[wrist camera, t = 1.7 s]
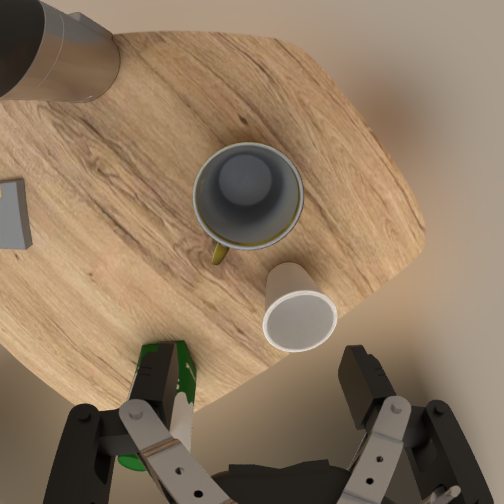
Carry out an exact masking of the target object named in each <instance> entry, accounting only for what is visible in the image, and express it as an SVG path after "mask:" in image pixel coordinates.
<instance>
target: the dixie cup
mask: <svg viewBox="0 0 504 504" xmlns="http://www.w3.org/2000/svg"><path fill="white" fill-rule="evenodd" d="M336 323H337V310H336V307H335V305H334V303H333V302H332V301H331V299H330V298H328V297H327V296H326V295H324V293H323V292H322V291H321V290H320V288H319V287H318V286H317V285H316V283H315V282H314V281H313V280H312V278H311V277H310V276H309V274H308V273H307V272H306V271H305V270H304V268H303V267H301V266H300V265H298V264H296V263H291V262H286V263H282V264H279V265H277V266H276V267H274V268H273V269H272V270H271V271H270V273H269V274H268V277H267V284H266V303H265V315H264V318H263V322H262V328H263V333H264V335H265V337H266V339H267V340H268V342H269V343H270V344H272V345H273V346H274V347H276V348H278V349H280V350H283V351H288V352H302V351H306V350H310V349H312V348H314V347H317V346H318V345H320V344H321V343H323V342H324V341H325V340H326V339H327V338H328V337H329V336H330V335H331V334H332V332H333V330H334V328H335V325H336Z"/></svg>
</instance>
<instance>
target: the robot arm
mask: <svg viewBox="0 0 504 504" xmlns="http://www.w3.org/2000/svg"><path fill="white" fill-rule="evenodd" d="M119 66H120V56H119V51H118V49H117V47H116V45H115V44H114V43H113V41H112V33H111V32H109V31H108V30H106V29H105V28H103V27H102V26H100V25H99V24H97V23H96V22H94V21H93V20H91V19H90V18H88V17H86V16H85V15H83V14H82V13H79V12H76V13H72V14H68V15H67V14H65V13H63V12H61V11H59V10H57V9H55V8H53V7H51V6H49V5H47V4H46V3H44V2H42V1H40V0H0V100H38V101H59V102H70V103H86V102H90V101H92V100H95V99H97V98H98V97H100V96H101V95H103V94H104V93H105V92H106V91H107V90H108V89H109V88H110V86H111V85H112V83H113V82H114V80H115V78H116V76H117V74H118V70H119ZM178 376H179V365H178V355H177V345H176V343H173V342H161V341H160V343H159V346H158V349H157V352H151V351H148V352H147V353H146V355H145V356H144V357H143V358H142V360H141V363H140V366H139V369H138V372H137V375H136V378H135V381H134V384H133V388H132V391H131V394H130V398H129V400H128V401H126V402H125V403H123V404H122V405H121V407H120V408H118V409H115V410H107V411H98V409H97V408H96V407H95V406H93V405H91V404H79V405H77V406H75V407H73V408H72V409H71V411H70V413H69V415H68V418H67V421H66V424H65V427H64V430H63V433H62V436H61V439H60V442H59V446H58V449H57V452H56V456H55V459H54V463H53V466H52V469H51V473H50V477H49V481H48V485H47V489H46V493H45V497H44V501H43V504H108V501H109V493H110V487H111V480H112V474H113V468H114V462H115V456H116V455H126V454H136V455H137V457H138V458H139V460H140V462H141V463H142V465H143V466H144V468H145V469H146V471H147V472H148V474H149V475H150V477H151V478H152V479H153V481H154V483H155V484H156V486H157V488H158V489H159V491H160V492H161V493H162V495H163V496H164V498H165V499H166V501H167V502H168V503H169V504H396V503H395V502H393V501H392V500H390V499H389V498H387V497H386V496H384V494H385V492H386V489H387V487H388V485H389V482H390V480H391V477H392V475H393V472H394V469H395V467H396V465H397V462H398V459H399V456H400V453H401V451H402V448H403V447H404V448H405V451H406V453H407V456H408V459H409V462H410V465H411V468H412V471H413V474H414V477H415V480H416V483H417V486H418V489H419V492H420V495H421V498H422V502H421V503H420V504H494V501H493V498H492V496H491V493H490V491H489V488H488V486H487V483H486V481H485V479H484V476H483V474H482V472H481V470H480V467H479V465H478V463H477V461H476V459H475V456H474V454H473V452H472V450H471V448H470V446H469V444H468V442H467V440H466V438H465V436H464V434H463V432H462V430H461V428H460V426H459V424H458V422H457V420H456V418H455V416H454V414H453V412H452V411H451V409H450V407H449V406H448V404H446V403H445V402H443V401H441V400H432V401H430V402H429V403H428V404H427V406H426V407H416V406H411V405H410V404H409V402H408V401H407V400H406V399H404V398H402V397H399V396H397V395H396V393H395V391H394V389H393V387H392V385H391V383H390V381H389V379H388V378H387V376H386V374H385V372H384V370H383V369H382V366H381V364H380V363H379V361H378V360H377V359H376V358H375V357H374V356H373V355H372V354H367V353H366V351H365V349H364V347H363V346H362V345H348V346H346V348H345V350H344V354H343V357H342V360H341V363H340V366H339V370H338V378H339V381H340V384H341V387H342V390H343V392H344V395H345V397H346V401H347V403H348V406H349V409H350V412H351V415H352V418H353V420H354V423H355V426H356V429H357V430H361V429H365V430H366V432H367V433H366V435H365V437H364V438H363V441H362V442H361V444H360V447H359V449H358V451H357V453H356V455H355V457H354V458H353V461H352V462H351V464H350V466H349V467H348V469H347V470H345V469H343V468H340V467H336V466H330V465H329V462H328V460H327V459H326V460H317V461H309V462H302V463H300V464H296V465H293V466H290V467H286V468H282V469H277V468H271V467H265V466H259V465H235V464H231V465H230V464H229V470H228V471H224V472H220V473H217V474H215V475H212V476H209V475H208V474H207V472H206V471H205V470H204V469H203V468H202V467H201V466H200V465H199V463H198V462H197V461H196V460H195V458H194V457H193V456H192V455H191V454H190V452H189V451H188V450H187V449H186V447H185V446H184V445H183V444H182V442H181V441H180V440H179V439H177V438H176V439H174V438H173V436H172V435H171V434H170V432H169V431H170V425H171V419H172V412H173V406H174V400H175V394H176V388H177V383H178Z"/></svg>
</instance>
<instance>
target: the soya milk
mask: <svg viewBox="0 0 504 504" xmlns="http://www.w3.org/2000/svg"><path fill="white" fill-rule="evenodd" d="M173 343H176V345H177V355H178V365H179V376H178V383H177V388H176V394H175V400H174V406H173V412H172V419H171V425H170V431H169V432H170V434H171V435H172V436H173V438H174V439H176V438H177V439H179V440H180V441H181V442H182V444H183V445H184V446H185V447H186V449H187V450H188V451H189V452H190V447H191V429H192V418H193V409H194V399H195V390H196V369H195V367H194V365H193V362H192V360H191V357H190V355H189V352H188V350H187V347H186V345H185V342H184V341H177V342H173ZM158 346H159V344H151V345H142V349H141V353H140V356H139V360H138V364H137V368H136V372H135V375H134V378H133V381H132V384H131V387H130V391H129V394H128V397H127V400H126V401H128V400H129V398H130V394H131V391H132V388H133V384H134V381H135V378H136V375H137V372H138V369H139V366H140V363H141V360H142V358H143V357H144V356H145V355H146V353H147V352H148V351H151V352H157V349H158ZM118 462H119V463H120V464H121V465H122V466H124V467H126V468H128V469H131V470H134V471H146V469H145V468H144V466H143V465H142V463H141V462H140V460H139V458H138V457H137V455H136V454H126V455H118Z"/></svg>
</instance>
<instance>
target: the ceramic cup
mask: <svg viewBox="0 0 504 504" xmlns="http://www.w3.org/2000/svg"><path fill="white" fill-rule="evenodd" d="M192 198H193V207H194V211H195V214H196V217H197V219H198V221H199V223H200V224H201V226H202V228H203V229H204V230H205V231H206V232H207V233H208V234H209V235H210V236H211V237H212V238H213V239H214V240H216V241H217V242H218V243H217V246H216V248H215V251H214V254H213V257H212V260H211V263H212V264H214V265H219V264H220V263H221V262H222V260H223V259H224V258H225V256H226V254H227V252H228V250H229V248H234V249H238V250H257V249H262V248H266V247H268V246H271V245H273V244H275V243H277V242H278V241H280V240H281V239H283V238H284V237H285V236H286V235H287V234H288V233H289V232H290V231H291V230H292V229H293V228H294V226H295V225H296V223H297V221H298V220H299V218H300V215H301V212H302V209H303V204H304V187H303V182H302V179H301V176H300V174H299V172H298V170H297V168H296V167H295V165H294V164H293V163H292V161H291V160H290V159H289V158H288V157H287V156H286V155H284V154H283V153H282V152H280V151H279V150H277V149H275V148H273V147H271V146H269V145H266V144H262V143H256V142H241V143H236V144H232V145H229V146H227V147H224V148H222V149H221V150H219V151H217V152H216V153H214V154H213V155H212V156H211V157H210V158H209V159H208V160H207V161H206V162H205V163H204V164H203V166H202V167H201V169H200V170H199V172H198V174H197V177H196V179H195V182H194V187H193V195H192Z"/></svg>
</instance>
